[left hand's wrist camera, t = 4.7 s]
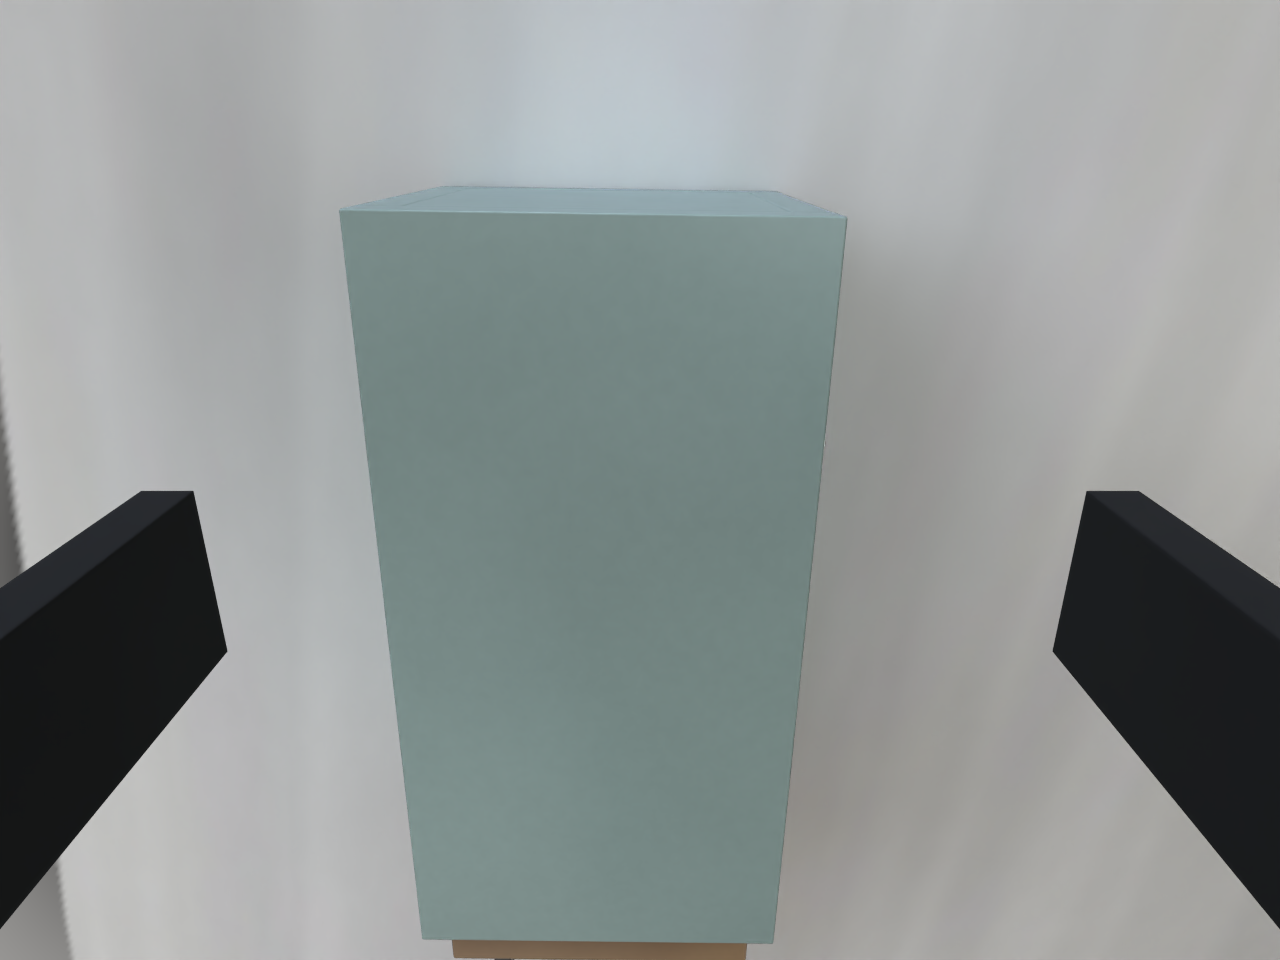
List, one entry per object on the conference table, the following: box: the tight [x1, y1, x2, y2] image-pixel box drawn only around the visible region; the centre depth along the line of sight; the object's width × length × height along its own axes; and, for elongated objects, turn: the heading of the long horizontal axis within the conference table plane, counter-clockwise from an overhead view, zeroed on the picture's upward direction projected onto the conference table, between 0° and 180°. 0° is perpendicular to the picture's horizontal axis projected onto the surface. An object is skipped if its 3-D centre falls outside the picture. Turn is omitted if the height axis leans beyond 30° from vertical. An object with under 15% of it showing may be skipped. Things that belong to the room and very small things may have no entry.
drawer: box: [452, 940, 747, 960], centre depth 28 cm, size 26×10×8 cm, turn 179°
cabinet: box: [339, 186, 847, 944], centre depth 26 cm, size 21×11×10 cm, turn 179°
